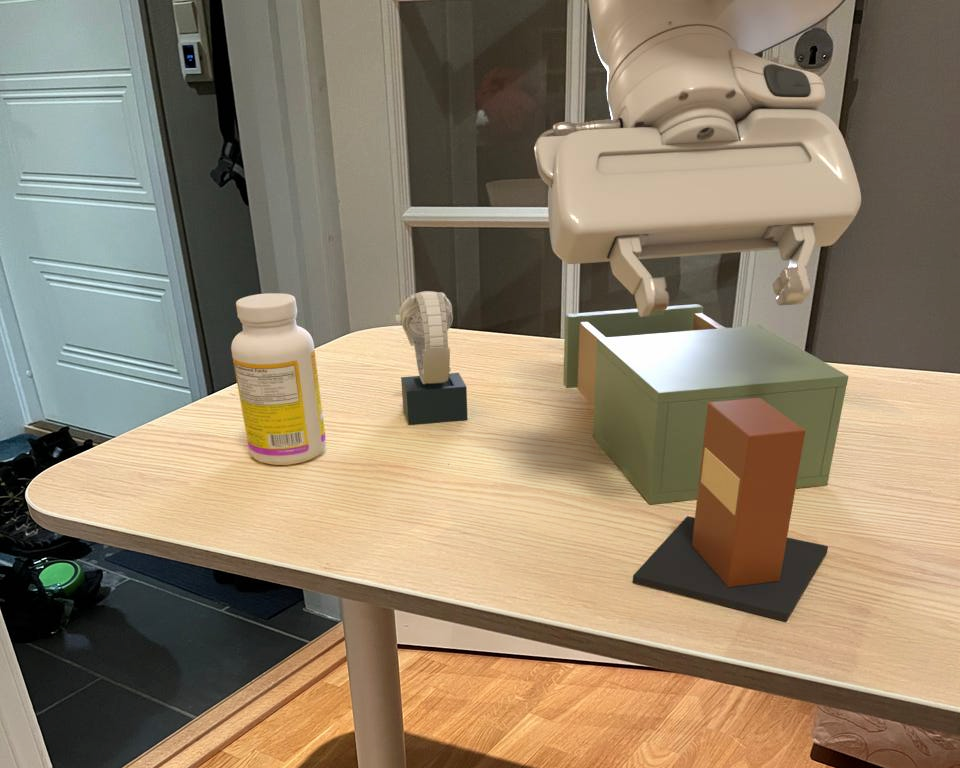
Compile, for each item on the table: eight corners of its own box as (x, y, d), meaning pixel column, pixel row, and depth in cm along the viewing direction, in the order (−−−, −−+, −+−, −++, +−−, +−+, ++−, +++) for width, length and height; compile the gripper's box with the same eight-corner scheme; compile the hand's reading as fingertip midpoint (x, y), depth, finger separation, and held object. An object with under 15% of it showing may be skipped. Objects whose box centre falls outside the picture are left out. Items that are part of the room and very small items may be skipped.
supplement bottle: (288, 433, 85) (267, 286, 78) (342, 448, 82) (326, 295, 75) (233, 457, 80) (205, 303, 73) (288, 473, 77) (264, 314, 70)
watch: (456, 398, 92) (452, 281, 86) (470, 426, 85) (467, 301, 79) (400, 402, 91) (391, 285, 85) (410, 431, 85) (401, 306, 79)
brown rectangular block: (690, 545, 64) (706, 402, 58) (740, 539, 64) (760, 397, 59) (727, 588, 59) (748, 436, 53) (780, 581, 59) (807, 430, 54)
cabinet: (592, 436, 83) (596, 338, 78) (746, 421, 85) (760, 325, 80) (649, 504, 71) (658, 393, 66) (827, 485, 73) (849, 375, 68)
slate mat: (827, 553, 63) (828, 545, 63) (786, 622, 56) (788, 613, 56) (686, 523, 68) (687, 515, 68) (632, 583, 61) (632, 575, 60)
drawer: (551, 372, 95) (553, 303, 92) (676, 361, 97) (682, 293, 94) (605, 432, 81) (609, 353, 77) (749, 418, 83) (760, 341, 79)
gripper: (538, 87, 57) (578, 288, 55) (845, 74, 60) (898, 264, 58) (521, 160, 63) (557, 345, 61) (800, 145, 66) (846, 320, 64)
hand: (725, 305), depth 59 cm, fingers open, 8 cm apart
